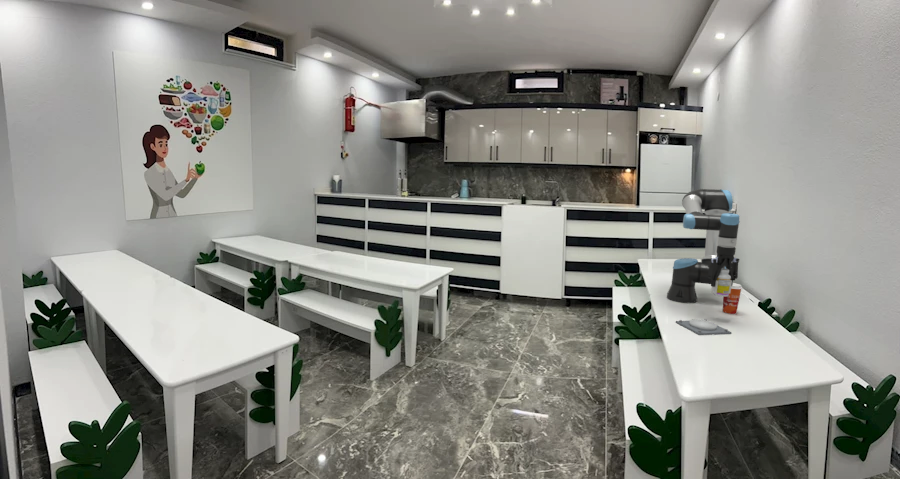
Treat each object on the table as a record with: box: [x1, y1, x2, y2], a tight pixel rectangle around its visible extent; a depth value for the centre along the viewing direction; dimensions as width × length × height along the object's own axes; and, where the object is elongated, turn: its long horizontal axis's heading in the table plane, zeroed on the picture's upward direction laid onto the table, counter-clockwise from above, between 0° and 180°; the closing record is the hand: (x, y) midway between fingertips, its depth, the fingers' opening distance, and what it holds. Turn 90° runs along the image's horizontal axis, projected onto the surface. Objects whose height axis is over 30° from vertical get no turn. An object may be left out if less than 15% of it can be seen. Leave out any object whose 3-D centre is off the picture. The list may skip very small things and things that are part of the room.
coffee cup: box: [722, 282, 743, 315], centre depth 226 cm, size 8×8×15 cm
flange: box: [675, 318, 732, 336], centre depth 203 cm, size 16×16×2 cm
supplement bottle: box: [712, 268, 731, 298], centre depth 211 cm, size 7×7×13 cm
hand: (720, 292), depth 212 cm, fingers closed on supplement bottle, 7 cm apart
